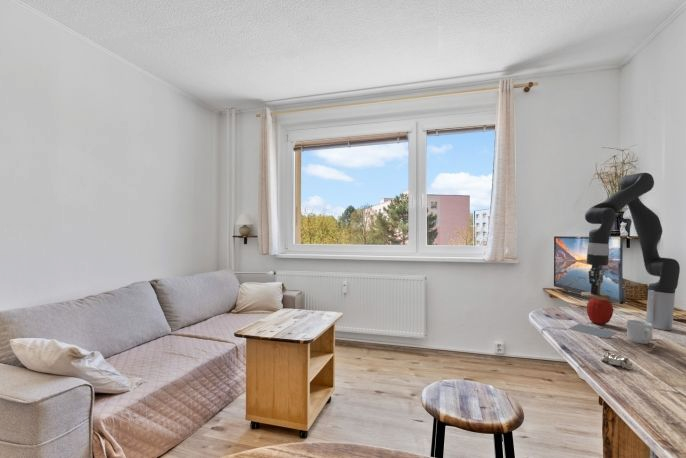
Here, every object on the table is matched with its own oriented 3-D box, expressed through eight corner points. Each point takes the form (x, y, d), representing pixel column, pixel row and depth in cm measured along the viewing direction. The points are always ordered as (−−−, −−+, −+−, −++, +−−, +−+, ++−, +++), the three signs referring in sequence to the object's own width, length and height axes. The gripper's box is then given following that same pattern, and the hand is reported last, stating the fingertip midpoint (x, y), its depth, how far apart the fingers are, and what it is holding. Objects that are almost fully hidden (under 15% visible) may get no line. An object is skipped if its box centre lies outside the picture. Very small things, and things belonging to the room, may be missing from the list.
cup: (662, 349, 128) (663, 328, 128) (637, 346, 130) (639, 326, 129) (642, 339, 138) (644, 320, 138) (620, 337, 140) (622, 318, 140)
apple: (612, 329, 152) (615, 298, 152) (585, 324, 158) (587, 294, 158) (611, 324, 161) (613, 295, 160) (585, 319, 167) (587, 291, 166)
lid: (584, 293, 153) (585, 280, 153) (612, 298, 145) (613, 283, 145) (578, 296, 147) (578, 281, 147) (606, 300, 139) (607, 286, 139)
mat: (578, 324, 157) (579, 323, 157) (616, 333, 146) (616, 332, 146) (567, 329, 147) (567, 328, 147) (607, 339, 136) (607, 338, 136)
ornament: (635, 368, 109) (636, 356, 109) (628, 372, 105) (628, 360, 105) (606, 358, 116) (607, 348, 116) (597, 362, 112) (598, 351, 112)
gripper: (592, 252, 153) (590, 290, 153) (582, 253, 144) (579, 293, 144) (612, 254, 147) (610, 293, 148) (603, 255, 138) (601, 296, 139)
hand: (595, 293), depth 146 cm, fingers closed on lid, 3 cm apart
